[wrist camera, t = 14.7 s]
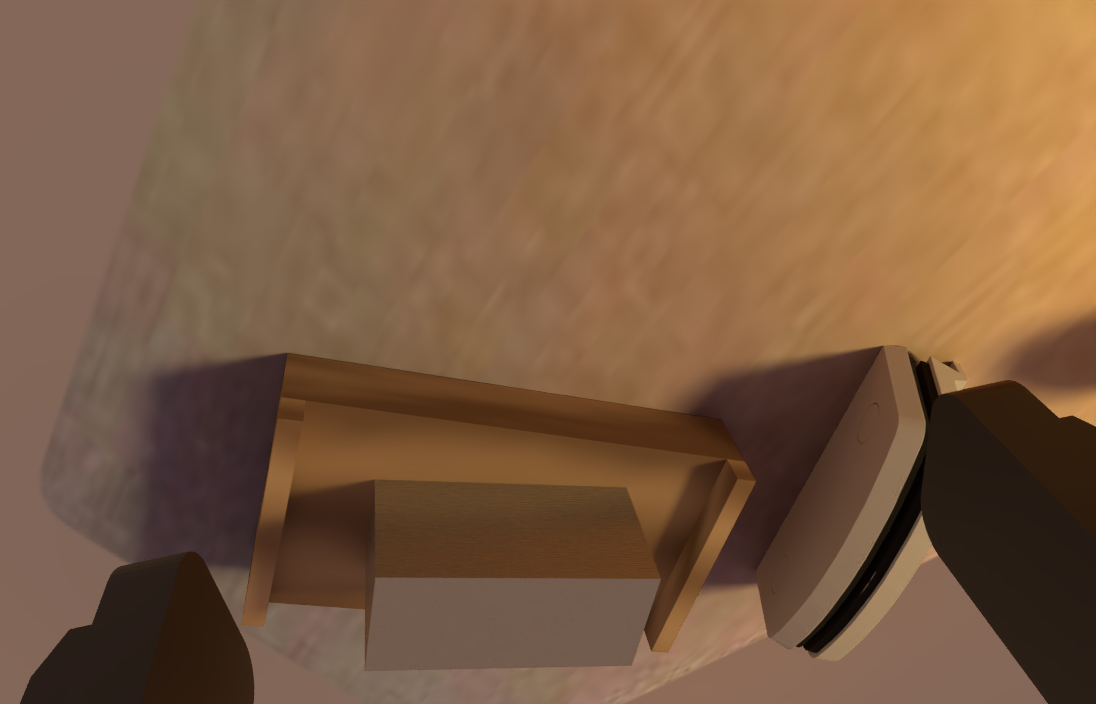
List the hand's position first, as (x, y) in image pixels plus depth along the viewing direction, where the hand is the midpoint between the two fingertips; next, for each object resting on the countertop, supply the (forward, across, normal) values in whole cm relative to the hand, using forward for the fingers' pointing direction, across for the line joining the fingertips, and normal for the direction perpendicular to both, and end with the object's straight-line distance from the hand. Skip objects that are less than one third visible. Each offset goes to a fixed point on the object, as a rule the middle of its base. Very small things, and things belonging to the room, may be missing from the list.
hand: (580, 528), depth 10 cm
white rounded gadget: (+29, -16, +27) cm, 43 cm away
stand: (+28, +2, +23) cm, 36 cm away
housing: (+24, +2, +23) cm, 33 cm away
